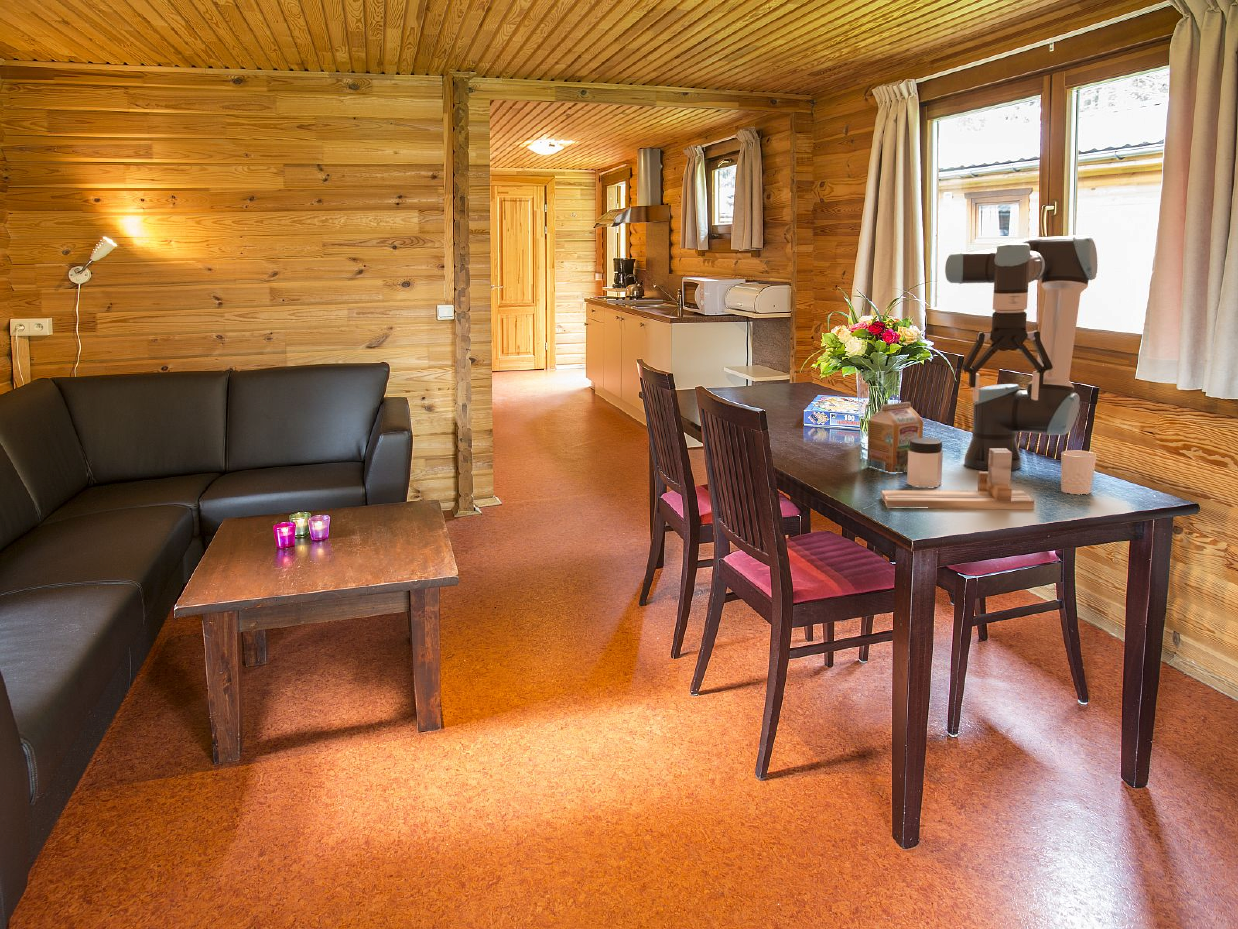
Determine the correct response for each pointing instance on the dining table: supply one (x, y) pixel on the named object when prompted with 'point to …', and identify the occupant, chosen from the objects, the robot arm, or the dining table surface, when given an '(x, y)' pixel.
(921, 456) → the jar
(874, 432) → the milk carton
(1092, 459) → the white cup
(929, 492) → the board
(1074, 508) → the dining table surface
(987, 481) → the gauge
